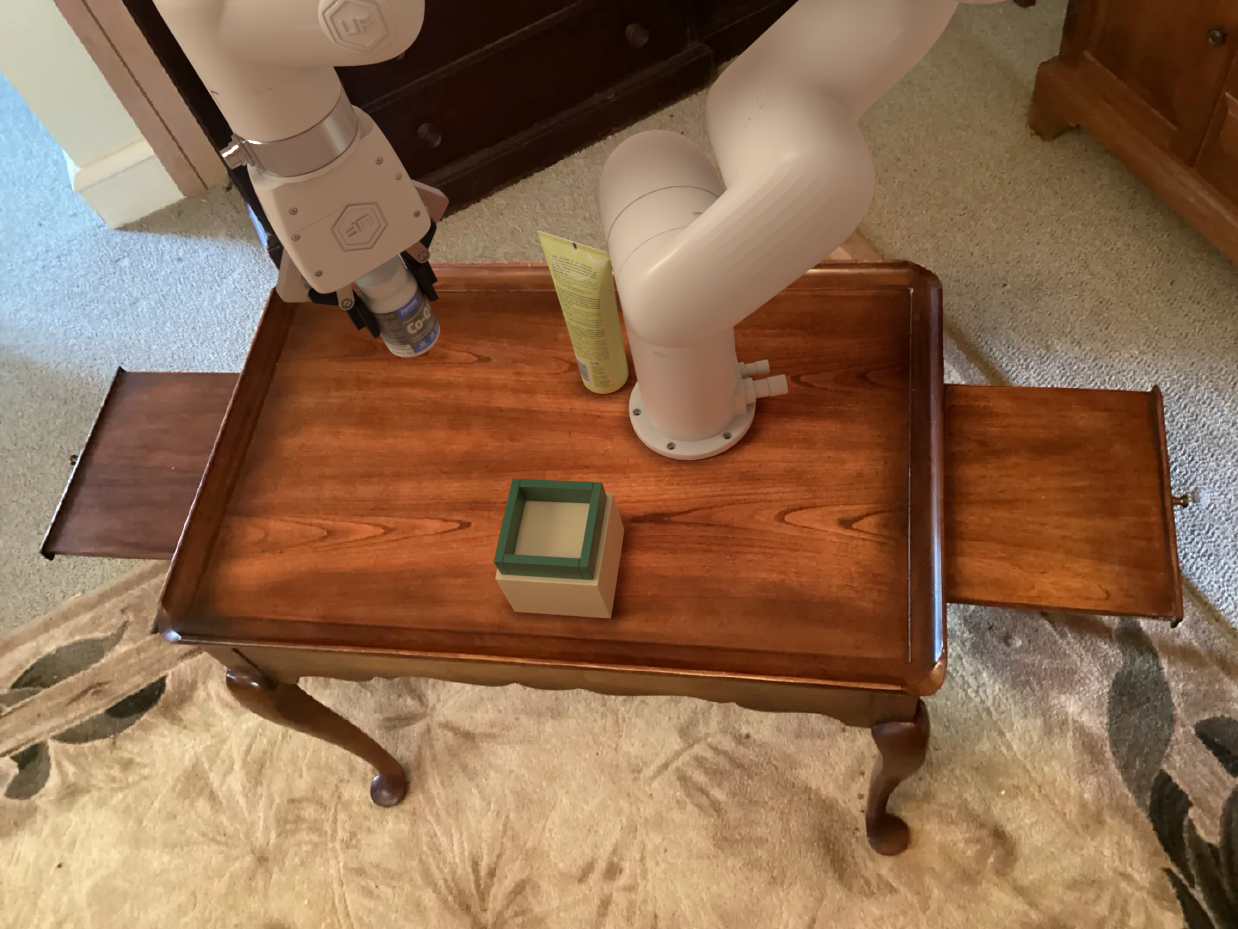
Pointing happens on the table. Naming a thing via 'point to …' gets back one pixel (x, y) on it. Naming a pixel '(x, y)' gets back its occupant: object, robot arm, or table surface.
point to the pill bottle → (399, 308)
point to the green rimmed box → (559, 548)
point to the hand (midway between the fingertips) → (398, 307)
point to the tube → (588, 310)
